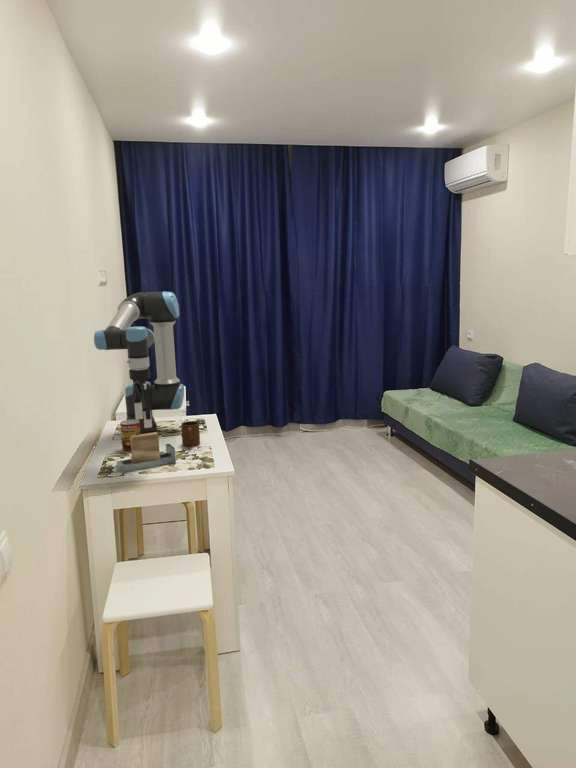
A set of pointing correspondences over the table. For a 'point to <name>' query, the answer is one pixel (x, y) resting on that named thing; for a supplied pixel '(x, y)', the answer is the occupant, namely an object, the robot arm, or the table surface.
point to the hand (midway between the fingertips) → (143, 423)
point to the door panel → (145, 447)
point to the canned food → (129, 432)
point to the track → (163, 460)
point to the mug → (190, 433)
